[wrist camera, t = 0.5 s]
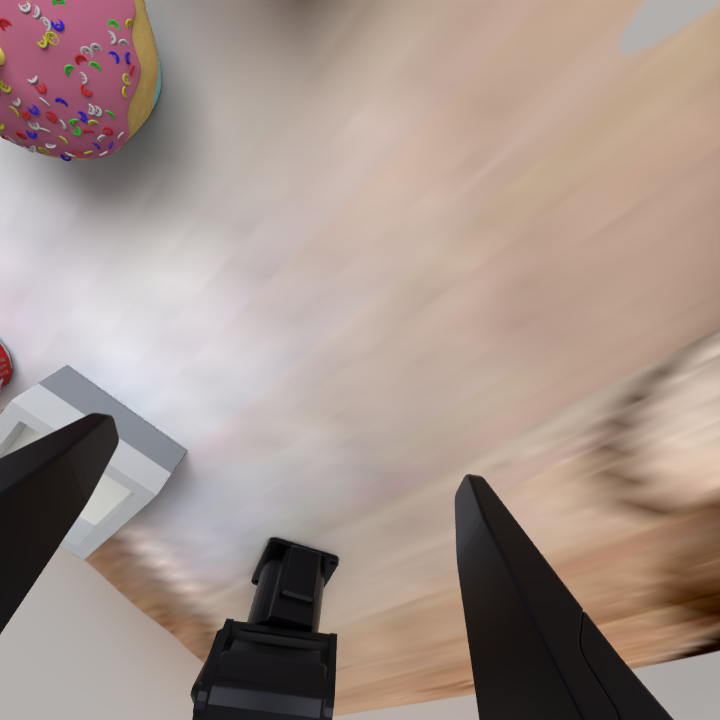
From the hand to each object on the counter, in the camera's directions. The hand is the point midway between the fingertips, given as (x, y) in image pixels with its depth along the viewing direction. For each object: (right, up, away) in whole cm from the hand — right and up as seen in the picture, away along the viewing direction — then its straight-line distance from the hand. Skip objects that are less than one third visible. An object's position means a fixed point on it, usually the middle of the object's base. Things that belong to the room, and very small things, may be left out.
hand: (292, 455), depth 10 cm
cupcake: (-10, +17, +9) cm, 22 cm away
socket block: (-19, -4, +19) cm, 27 cm away
